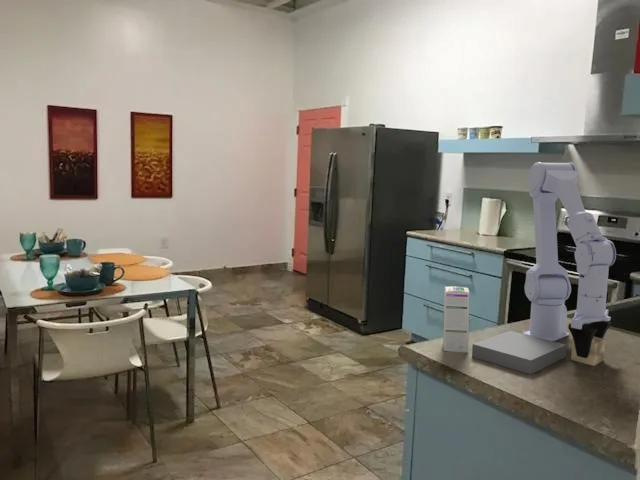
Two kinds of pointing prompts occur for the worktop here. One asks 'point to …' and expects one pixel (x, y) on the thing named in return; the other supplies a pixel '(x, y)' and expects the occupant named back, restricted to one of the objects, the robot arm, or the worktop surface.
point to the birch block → (591, 352)
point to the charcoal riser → (519, 351)
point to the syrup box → (456, 319)
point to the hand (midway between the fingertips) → (587, 354)
